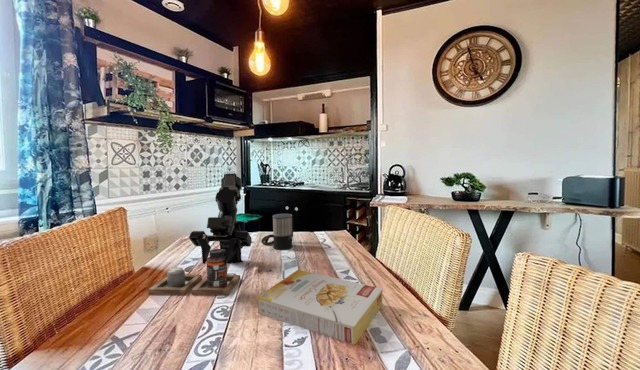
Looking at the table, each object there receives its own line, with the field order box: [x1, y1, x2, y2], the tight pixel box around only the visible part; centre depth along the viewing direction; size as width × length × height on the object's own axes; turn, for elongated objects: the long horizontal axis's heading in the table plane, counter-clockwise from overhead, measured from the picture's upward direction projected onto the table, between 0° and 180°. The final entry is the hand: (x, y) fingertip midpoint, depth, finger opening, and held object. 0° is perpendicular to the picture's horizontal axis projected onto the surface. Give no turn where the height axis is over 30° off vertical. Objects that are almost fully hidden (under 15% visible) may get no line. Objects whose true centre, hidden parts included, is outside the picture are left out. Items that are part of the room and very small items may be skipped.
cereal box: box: [256, 269, 383, 345], centre depth 79 cm, size 20×6×28 cm
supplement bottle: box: [206, 248, 228, 288], centre depth 91 cm, size 6×6×11 cm
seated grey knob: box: [166, 267, 186, 287], centre depth 91 cm, size 5×5×5 cm
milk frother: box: [260, 213, 294, 251], centre depth 136 cm, size 14×16×15 cm
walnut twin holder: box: [147, 274, 241, 296], centre depth 91 cm, size 11×24×2 cm, turn 87°
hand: (214, 263), depth 89 cm, fingers open, 6 cm apart
